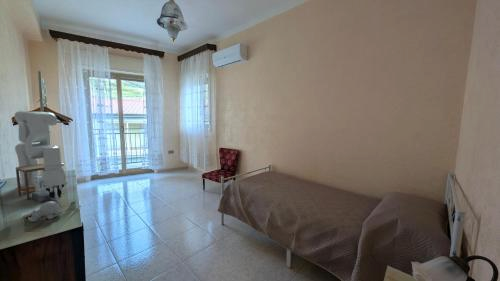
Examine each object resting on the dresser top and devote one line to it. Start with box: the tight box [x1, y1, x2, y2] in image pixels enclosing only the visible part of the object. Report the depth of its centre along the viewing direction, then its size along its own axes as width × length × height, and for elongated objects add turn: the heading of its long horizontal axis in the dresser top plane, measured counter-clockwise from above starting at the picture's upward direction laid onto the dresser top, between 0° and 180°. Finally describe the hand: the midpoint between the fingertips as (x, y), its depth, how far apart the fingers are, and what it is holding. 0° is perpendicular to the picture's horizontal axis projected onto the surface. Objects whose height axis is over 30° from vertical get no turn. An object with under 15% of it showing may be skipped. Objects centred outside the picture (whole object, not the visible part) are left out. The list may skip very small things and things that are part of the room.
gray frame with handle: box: [31, 186, 59, 203], centre depth 133 cm, size 19×10×10 cm, turn 63°
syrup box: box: [34, 174, 49, 196], centre depth 135 cm, size 6×6×14 cm
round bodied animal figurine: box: [27, 200, 63, 223], centre depth 108 cm, size 7×12×8 cm, turn 127°
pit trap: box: [16, 186, 36, 195], centre depth 147 cm, size 10×10×2 cm
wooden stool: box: [15, 163, 44, 200], centre depth 140 cm, size 14×14×18 cm
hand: (55, 196), depth 129 cm, fingers closed on gray frame with handle, 2 cm apart
